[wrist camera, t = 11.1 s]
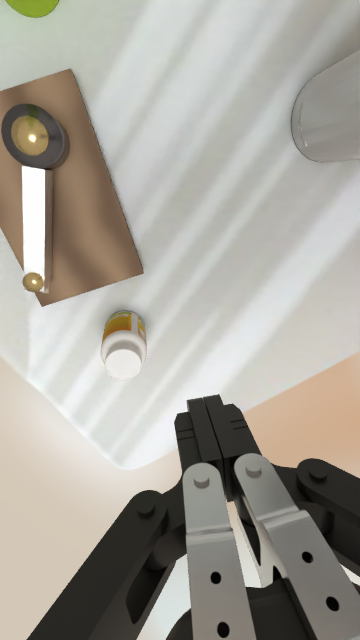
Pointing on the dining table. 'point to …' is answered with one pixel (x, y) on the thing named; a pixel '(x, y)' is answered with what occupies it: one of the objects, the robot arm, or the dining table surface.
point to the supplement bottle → (124, 345)
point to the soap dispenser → (33, 7)
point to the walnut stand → (69, 198)
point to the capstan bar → (36, 183)
